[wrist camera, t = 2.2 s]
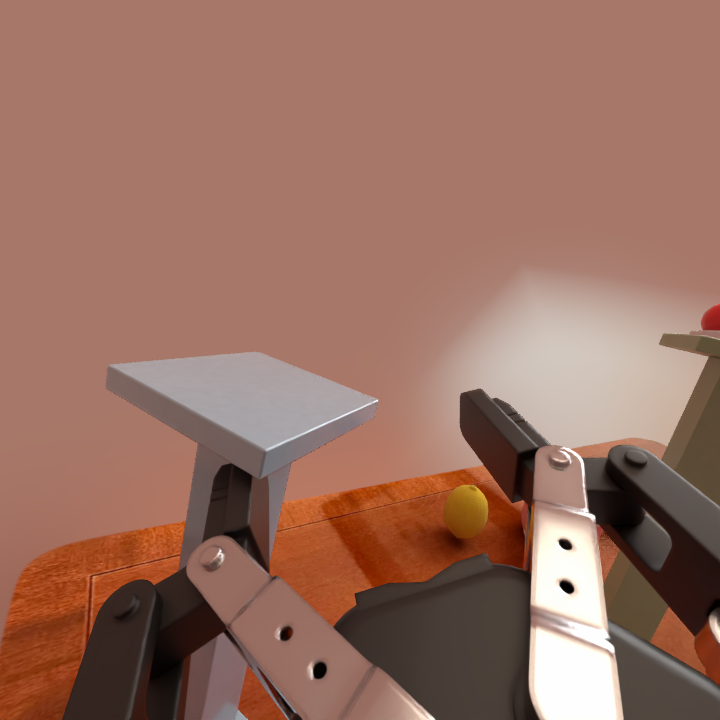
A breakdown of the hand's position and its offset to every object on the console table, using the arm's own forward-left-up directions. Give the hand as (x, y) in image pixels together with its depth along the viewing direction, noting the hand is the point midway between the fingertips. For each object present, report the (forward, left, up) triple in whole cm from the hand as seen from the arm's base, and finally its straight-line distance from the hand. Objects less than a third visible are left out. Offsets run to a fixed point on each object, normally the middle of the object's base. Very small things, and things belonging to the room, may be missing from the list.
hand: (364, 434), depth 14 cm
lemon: (+35, -3, -25) cm, 43 cm away
